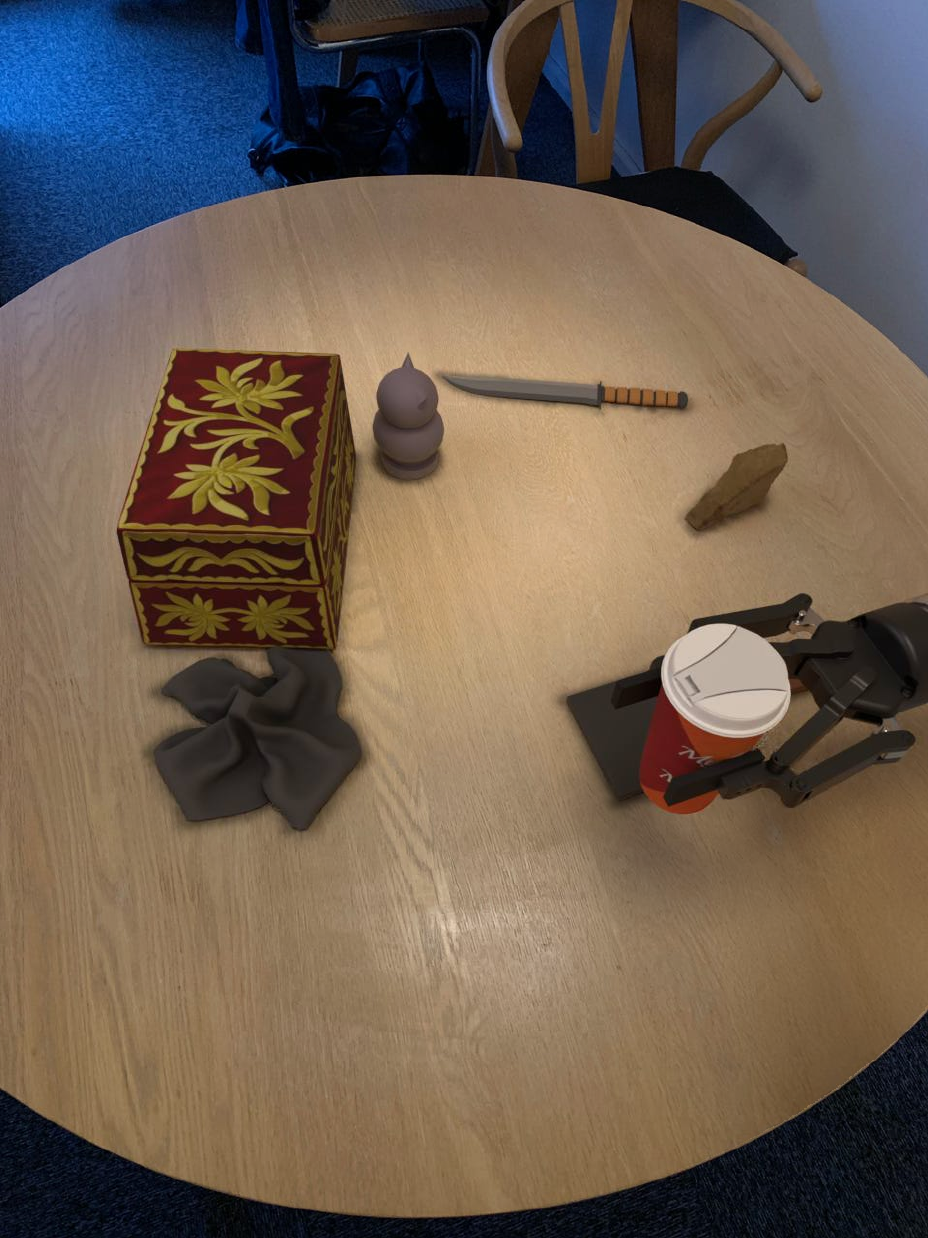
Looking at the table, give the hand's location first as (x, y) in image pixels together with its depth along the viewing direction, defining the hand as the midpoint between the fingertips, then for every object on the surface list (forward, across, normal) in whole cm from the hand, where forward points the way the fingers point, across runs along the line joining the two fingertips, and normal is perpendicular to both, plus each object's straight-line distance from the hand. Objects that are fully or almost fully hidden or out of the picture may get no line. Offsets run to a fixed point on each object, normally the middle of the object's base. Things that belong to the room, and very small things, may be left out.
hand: (642, 742), depth 63 cm
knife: (-22, +56, -21) cm, 63 cm away
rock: (-32, +33, -21) cm, 50 cm away
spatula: (-17, +10, -20) cm, 28 cm away
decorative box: (+18, +44, -20) cm, 51 cm away
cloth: (+23, +23, -20) cm, 38 cm away
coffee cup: (-5, 0, -9) cm, 10 cm away
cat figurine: (-1, +51, -20) cm, 55 cm away
